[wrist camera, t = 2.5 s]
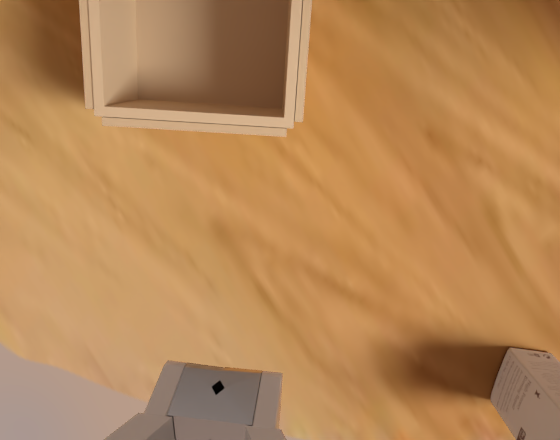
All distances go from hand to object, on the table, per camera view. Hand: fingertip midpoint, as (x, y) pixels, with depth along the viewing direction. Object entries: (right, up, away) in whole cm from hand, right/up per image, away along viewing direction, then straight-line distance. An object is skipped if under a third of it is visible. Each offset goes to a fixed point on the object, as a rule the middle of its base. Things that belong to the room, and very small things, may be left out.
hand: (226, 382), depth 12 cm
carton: (-3, +20, +22) cm, 30 cm away
